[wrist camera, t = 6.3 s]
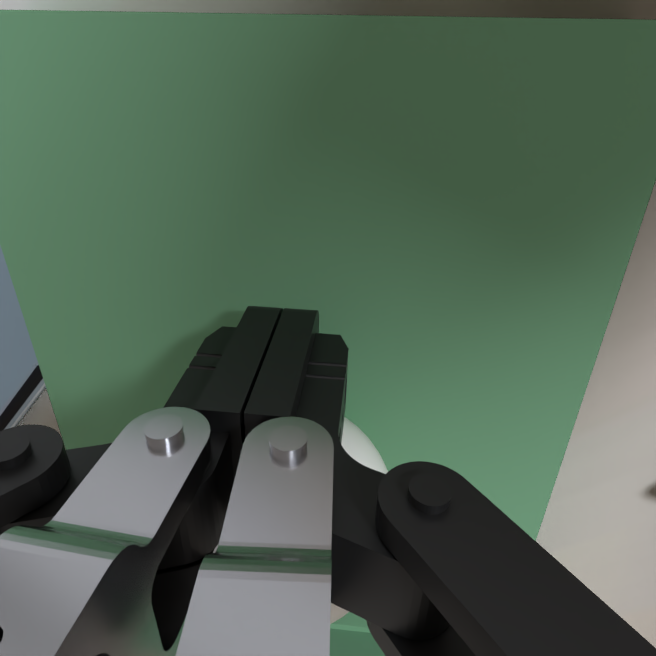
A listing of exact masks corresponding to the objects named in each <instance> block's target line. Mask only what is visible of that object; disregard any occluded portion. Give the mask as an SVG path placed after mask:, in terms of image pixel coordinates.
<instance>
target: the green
mask: <svg viewBox="0 0 656 656" xmlns="http://www.w3.org/2000/svg"><path fill="white" fill-rule="evenodd" d="M655 181H656V20H640V19H574V18H508V17H442V16H376V15H311V14H245V13H179V12H113V11H47V10H0V246H1V249H2V252H3V255H4V258H5V261H6V264H7V267H8V271H9V274H10V277H11V280H12V283H13V286H14V289H15V292H16V295H17V299H18V302H19V305H20V308H21V311H22V314H23V317H24V320H25V323H26V327H27V330H28V333H29V336H30V339H31V342H32V345H33V348H34V351H35V355H36V358H37V361H38V364H39V367H40V370H41V373H42V376H43V379H44V383H45V386H46V389H47V392H48V395H49V398H50V401H51V404H52V407H53V411H54V414H55V417H56V420H57V423H58V426H59V429H60V432H61V435H62V439H63V442H64V445H65V448H66V450H68V449H75V448H82V447H89V446H96V445H103V444H108V443H113V442H114V440H115V439H116V438H117V436H118V435H119V434H120V433H121V431H122V430H123V429H124V428H125V427H126V426H127V425H128V424H129V423H130V422H131V421H132V420H134V419H135V418H137V417H139V416H140V415H142V414H144V413H147V412H149V411H152V410H155V409H160V408H163V407H164V406H165V404H166V402H167V401H168V399H169V397H170V396H171V394H172V392H173V391H174V389H175V387H176V386H177V384H178V382H179V381H180V379H181V377H182V376H183V374H184V372H185V371H186V369H187V368H189V364H190V363H191V361H192V359H193V358H194V356H196V353H197V351H198V349H199V348H200V346H201V344H202V343H203V341H204V339H205V338H206V337H208V336H209V335H211V334H212V333H213V332H215V331H216V330H218V329H219V328H221V327H222V326H225V327H237V326H238V324H239V322H240V320H241V318H242V316H243V314H244V312H245V310H246V308H247V307H248V306H261V307H276V308H283V309H284V308H292V309H306V310H318V311H319V333H323V334H336V335H341V337H342V338H343V340H344V342H345V343H346V345H347V347H348V348H349V352H348V371H347V390H346V407H345V416H344V417H346V418H347V419H348V420H350V421H351V422H352V423H354V424H355V425H356V426H357V427H358V428H359V429H360V430H361V431H362V432H363V433H364V434H365V435H366V436H367V437H368V438H369V439H370V441H371V442H372V443H373V445H374V446H375V448H376V449H377V451H378V452H379V454H380V456H381V458H382V460H383V462H384V464H385V466H386V468H387V470H388V472H389V471H390V470H391V469H393V468H394V467H396V466H398V465H401V464H403V463H408V462H415V461H425V462H432V463H437V464H440V465H443V466H446V467H448V468H450V469H452V470H454V471H456V472H457V473H459V474H460V475H461V476H463V477H464V478H465V479H466V480H467V481H469V482H470V483H471V484H472V485H473V486H474V487H475V488H476V489H478V490H479V491H480V492H481V493H482V494H483V495H484V496H485V497H487V498H488V499H489V500H490V501H491V502H492V503H493V504H494V505H495V506H497V507H498V508H499V509H500V510H501V511H502V512H503V513H504V514H506V515H507V516H508V517H509V518H510V519H511V520H512V521H513V522H515V523H516V524H517V525H518V526H519V527H520V528H521V529H522V530H524V531H525V532H526V533H527V534H528V535H529V536H530V537H531V538H532V539H534V540H535V541H536V538H537V535H538V532H539V529H540V526H541V523H542V520H543V517H544V514H545V511H546V508H547V505H548V502H549V499H550V496H551V493H552V490H553V487H554V484H555V481H556V478H557V475H558V472H559V469H560V466H561V463H562V460H563V457H564V454H565V451H566V448H567V445H568V442H569V439H570V436H571V433H572V430H573V427H574V424H575V421H576V418H577V415H578V412H579V409H580V406H581V403H582V400H583V397H584V394H585V391H586V388H587V385H588V382H589V379H590V376H591V373H592V370H593V367H594V364H595V361H596V358H597V355H598V352H599V349H600V346H601V343H602V340H603V337H604V334H605V331H606V328H607V325H608V322H609V319H610V316H611V313H612V310H613V307H614V304H615V301H616V298H617V295H618V292H619V289H620V286H621V283H622V280H623V277H624V274H625V271H626V268H627V265H628V262H629V259H630V256H631V253H632V250H633V247H634V244H635V241H636V238H637V235H638V232H639V229H640V226H641V223H642V220H643V217H644V214H645V211H646V208H647V205H648V202H649V199H650V196H651V193H652V190H653V187H654V184H655ZM330 656H385V654H384V653H383V651H382V650H381V648H380V647H379V646H378V644H377V643H376V641H375V640H374V638H373V636H372V635H371V633H370V631H369V628H368V625H367V621H366V620H365V619H363V618H361V617H359V616H357V615H355V614H353V613H351V612H348V613H347V614H346V615H344V616H343V617H342V618H340V619H338V620H337V621H335V622H333V623H331V624H330Z"/></svg>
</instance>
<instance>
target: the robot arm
mask: <svg viewBox="0 0 656 656" xmlns="http://www.w3.org/2000/svg"><path fill="white" fill-rule="evenodd" d="M348 352H349V348H348V347H347V345H346V343H345V342H344V340H343V338H342V337H341V335H336V334H323V333H319V311H318V310H306V309H292V308H284V309H283V308H276V307H261V306H248V307H247V308H246V310H245V312H244V314H243V316H242V318H241V320H240V322H239V324H238V326H237V327H225V326H222V327H221V328H219V329H218V330H216V331H215V332H213V333H212V334H211V335H209V336H208V337H206V338H205V339H204V341H203V343H202V344H201V346H200V348H199V349H198V351H197V353H196V356H194V358H193V359H192V361H191V363H190V364H189V368H187V369H186V371H185V372H184V374H183V376H182V377H181V379H180V381H179V382H178V384H177V386H176V387H175V389H174V391H173V392H172V394H171V396H170V397H169V399H168V401H167V402H166V404H165V406H164V407H163V408H160V409H155V410H152V411H149V412H147V413H144V414H142V415H140V416H139V417H137V418H135V419H134V420H132V421H131V422H130V423H129V424H128V425H127V426H126V427H125V428H124V429H123V430H122V431H121V433H120V434H119V435H118V436H117V438H116V439H115V440H114V442H113V443H108V444H103V445H96V446H89V447H82V448H75V449H68V450H65V447H64V443H63V440H62V437H61V436H60V434H59V433H58V432H57V431H56V430H54V429H52V428H50V427H47V426H42V425H22V426H17V427H12V428H8V429H5V430H2V431H0V656H330V613H331V603H332V604H334V605H336V606H338V607H340V608H343V609H345V610H347V611H349V612H351V613H353V614H355V615H357V616H359V617H361V618H363V619H365V620H366V621H367V625H368V628H369V631H370V633H371V635H372V636H373V638H374V640H375V641H376V643H377V644H378V646H379V647H380V648H381V650H382V651H383V653H384V654H385V656H656V648H655V647H654V646H652V645H651V644H650V643H649V642H648V641H647V640H646V639H645V638H643V637H642V636H641V635H640V634H639V633H638V632H637V631H636V630H634V629H633V628H632V627H631V626H630V625H629V624H628V623H627V622H626V621H624V620H623V619H622V618H621V617H620V616H619V615H618V614H617V613H615V612H614V611H613V610H612V609H611V608H610V607H609V606H608V605H606V604H605V603H604V602H603V601H602V600H601V599H600V598H599V597H597V596H596V595H595V594H594V593H593V592H592V591H591V590H590V589H589V588H587V587H586V586H585V585H584V584H583V583H582V582H581V581H580V580H578V579H577V578H576V577H575V576H574V575H573V574H572V573H571V572H569V571H568V570H567V569H566V568H565V567H564V566H563V565H562V564H561V563H559V562H558V561H557V560H556V559H555V558H554V557H553V556H552V555H550V554H549V553H548V552H547V551H546V550H545V549H544V548H543V547H541V546H540V545H539V544H538V543H537V542H536V541H535V540H534V539H532V538H531V537H530V536H529V535H528V534H527V533H526V532H525V531H524V530H522V529H521V528H520V527H519V526H518V525H517V524H516V523H515V522H513V521H512V520H511V519H510V518H509V517H508V516H507V515H506V514H504V513H503V512H502V511H501V510H500V509H499V508H498V507H497V506H495V505H494V504H493V503H492V502H491V501H490V500H489V499H488V498H487V497H485V496H484V495H483V494H482V493H481V492H480V491H479V490H478V489H476V488H475V487H474V486H473V485H472V484H471V483H470V482H469V481H467V480H466V479H465V478H464V477H463V476H461V475H460V474H459V473H457V472H456V471H454V470H452V469H450V468H448V467H446V466H443V465H440V464H437V463H432V462H425V461H415V462H408V463H403V464H401V465H398V466H396V467H394V468H393V469H391V470H390V471H389V472H387V473H386V474H384V473H382V472H379V471H376V470H373V469H371V468H368V467H366V466H364V465H362V464H360V463H359V462H357V461H356V460H354V459H353V458H352V457H351V456H350V455H349V454H348V453H347V452H346V451H345V450H344V448H343V447H342V445H341V442H342V434H343V424H344V416H345V407H346V390H347V371H348Z"/></svg>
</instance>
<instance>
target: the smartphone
mask: <svg viewBox="0 0 656 656" xmlns="http://www.w3.org/2000/svg"><path fill="white" fill-rule="evenodd" d="M44 389H46V386H45V383H44V379H43V376H42V373H41V370H40V367H39V364H38V361H37V358H36V355H35V351H34V348H33V345H32V342H31V339H30V336H29V333H28V330H27V327H26V323H25V320H24V317H23V314H22V311H21V308H20V305H19V302H18V299H17V295H16V292H15V289H14V286H13V283H12V280H11V277H10V274H9V271H8V267H7V264H6V261H5V258H4V255H3V252H2V249H1V246H0V431H2V430H5V429H8V428H12V427H16V425H17V424H18V423H19V422H20V420H21V419H22V418H23V416H24V415H25V414H26V413H27V411H28V410H29V409H30V407H31V406H32V405H33V403H34V402H35V401H36V400H37V398H38V397H39V396H40V394H41V393H42V392H43V391H44Z"/></svg>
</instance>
